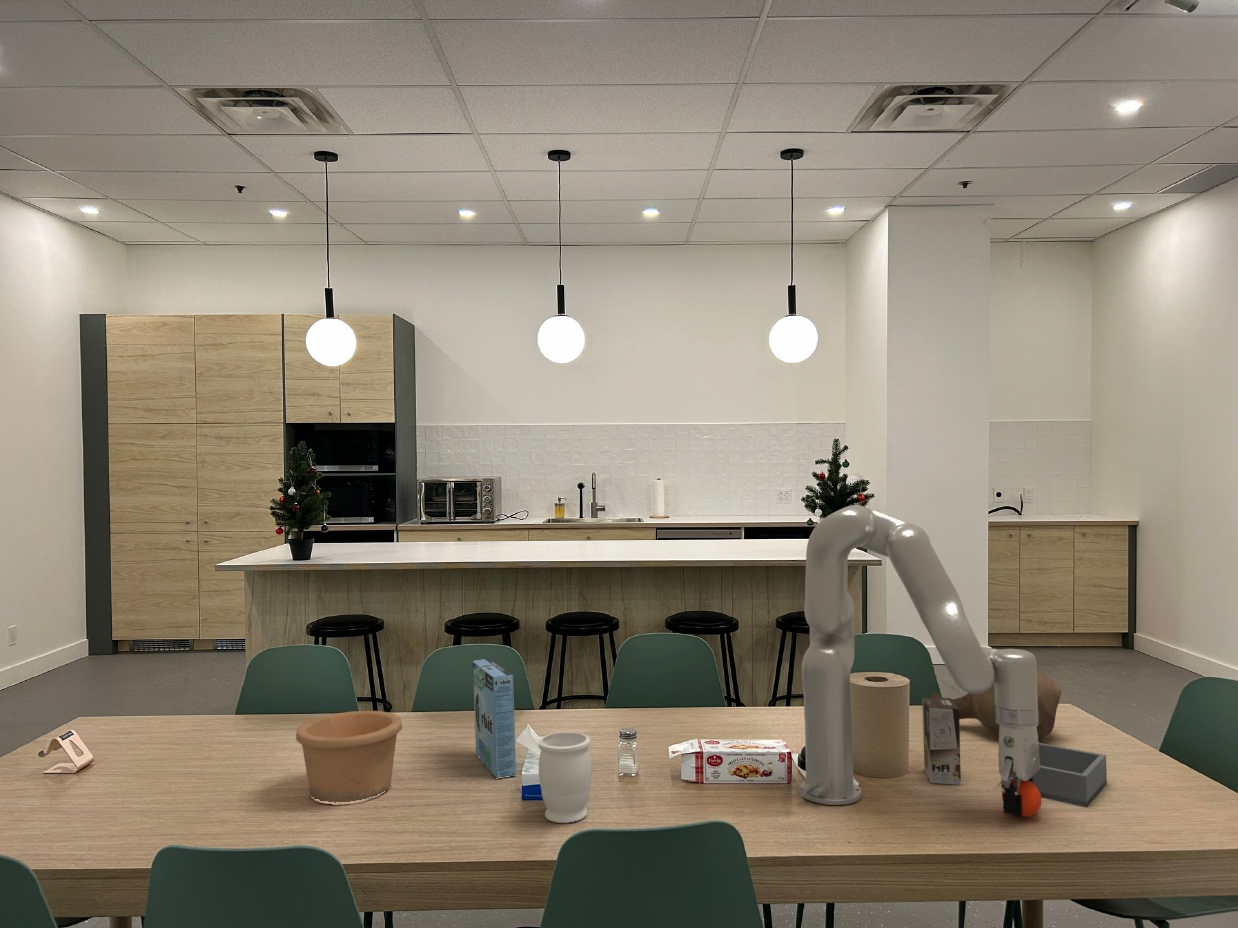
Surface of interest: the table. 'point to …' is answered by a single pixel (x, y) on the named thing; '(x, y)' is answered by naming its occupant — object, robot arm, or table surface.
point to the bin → (1070, 774)
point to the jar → (565, 775)
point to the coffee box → (941, 740)
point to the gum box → (494, 717)
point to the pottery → (349, 754)
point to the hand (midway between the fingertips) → (1019, 807)
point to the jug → (985, 705)
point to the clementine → (1028, 798)
